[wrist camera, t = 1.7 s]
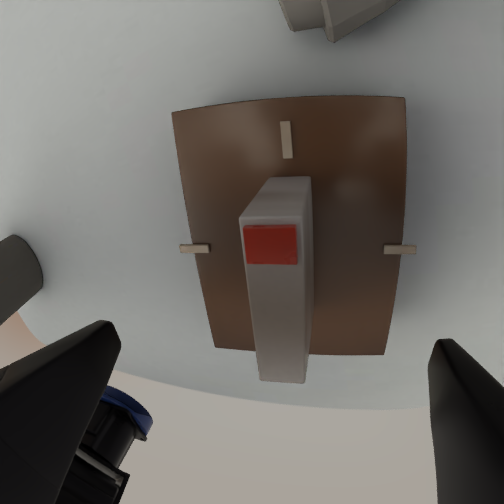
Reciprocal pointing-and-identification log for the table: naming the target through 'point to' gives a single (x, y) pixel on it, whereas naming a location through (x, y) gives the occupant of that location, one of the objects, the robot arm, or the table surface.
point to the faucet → (332, 14)
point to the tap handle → (280, 276)
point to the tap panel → (323, 206)
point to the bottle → (17, 275)
